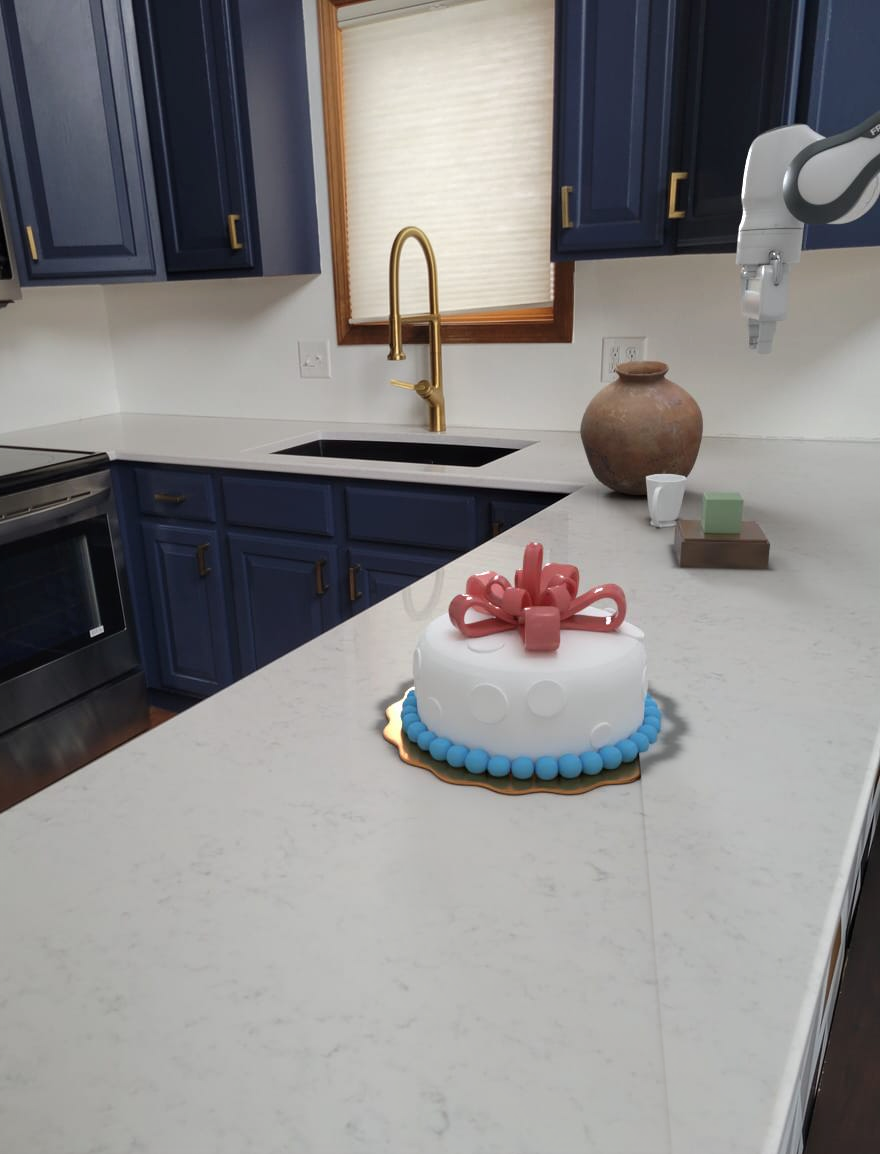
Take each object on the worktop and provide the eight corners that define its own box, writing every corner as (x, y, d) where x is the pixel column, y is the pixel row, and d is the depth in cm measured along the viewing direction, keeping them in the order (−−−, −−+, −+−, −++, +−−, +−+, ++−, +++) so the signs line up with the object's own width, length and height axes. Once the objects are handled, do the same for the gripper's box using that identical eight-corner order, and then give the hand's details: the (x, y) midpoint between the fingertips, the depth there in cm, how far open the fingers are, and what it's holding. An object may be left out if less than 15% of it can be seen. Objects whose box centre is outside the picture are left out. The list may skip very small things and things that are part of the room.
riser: (754, 552, 147) (757, 520, 145) (766, 574, 136) (770, 540, 134) (673, 550, 149) (675, 519, 147) (679, 572, 138) (681, 538, 136)
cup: (688, 521, 166) (692, 475, 163) (673, 534, 158) (676, 486, 155) (648, 517, 169) (651, 472, 167) (631, 530, 161) (634, 483, 159)
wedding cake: (581, 653, 109) (587, 497, 103) (743, 756, 85) (764, 561, 78) (347, 693, 101) (338, 526, 94) (452, 822, 76) (450, 607, 70)
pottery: (654, 477, 203) (662, 355, 194) (722, 498, 182) (734, 362, 173) (558, 487, 196) (561, 361, 187) (616, 510, 175) (623, 369, 167)
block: (735, 525, 142) (738, 492, 140) (740, 534, 138) (743, 499, 136) (700, 525, 143) (703, 492, 141) (704, 533, 139) (707, 499, 137)
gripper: (805, 249, 129) (793, 356, 134) (779, 252, 148) (769, 346, 153) (756, 251, 130) (746, 356, 135) (736, 254, 149) (728, 347, 154)
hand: (758, 351), depth 144 cm, fingers open, 8 cm apart
